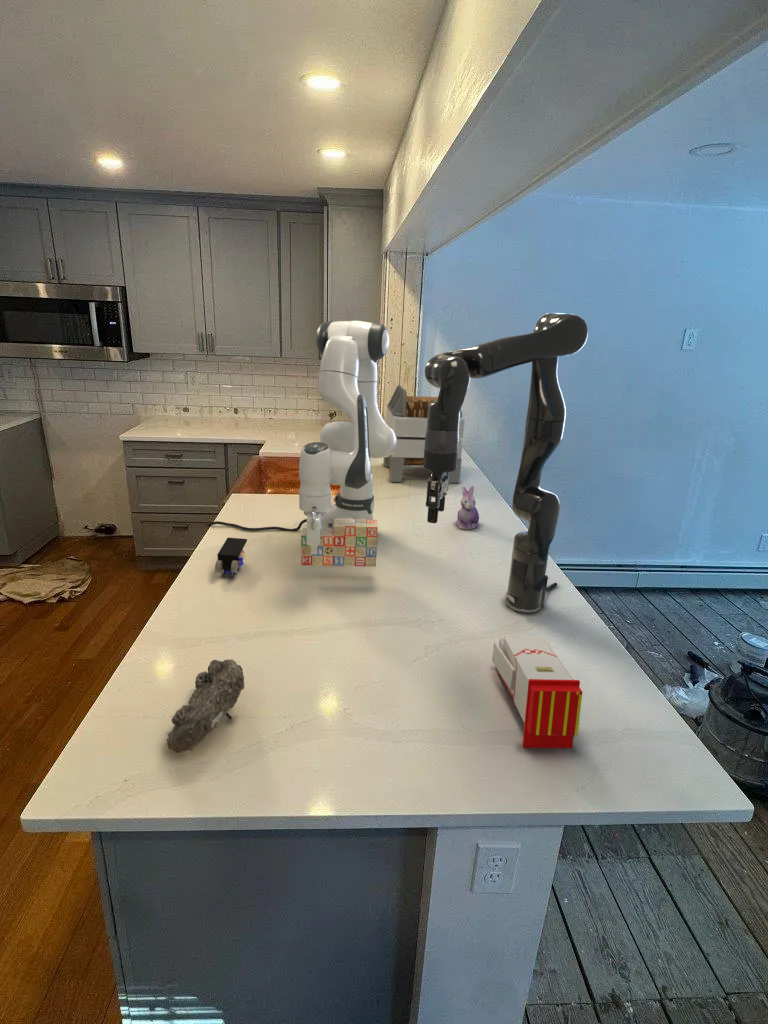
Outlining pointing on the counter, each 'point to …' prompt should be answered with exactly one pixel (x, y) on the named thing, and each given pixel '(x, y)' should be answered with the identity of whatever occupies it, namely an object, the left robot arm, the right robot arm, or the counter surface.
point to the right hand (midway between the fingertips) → (435, 516)
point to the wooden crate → (412, 433)
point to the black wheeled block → (230, 556)
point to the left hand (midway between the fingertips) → (314, 548)
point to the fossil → (206, 705)
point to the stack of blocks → (343, 544)
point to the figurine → (468, 510)
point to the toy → (539, 691)
